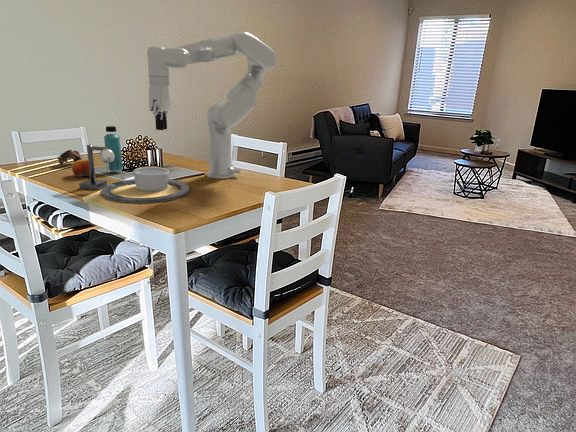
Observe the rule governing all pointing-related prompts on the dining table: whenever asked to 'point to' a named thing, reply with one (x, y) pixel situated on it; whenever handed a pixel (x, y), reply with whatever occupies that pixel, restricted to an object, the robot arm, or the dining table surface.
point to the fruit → (81, 168)
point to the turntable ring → (109, 195)
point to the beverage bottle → (113, 148)
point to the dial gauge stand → (92, 183)
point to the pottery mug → (69, 156)
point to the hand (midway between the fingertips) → (161, 129)
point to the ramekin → (151, 178)
